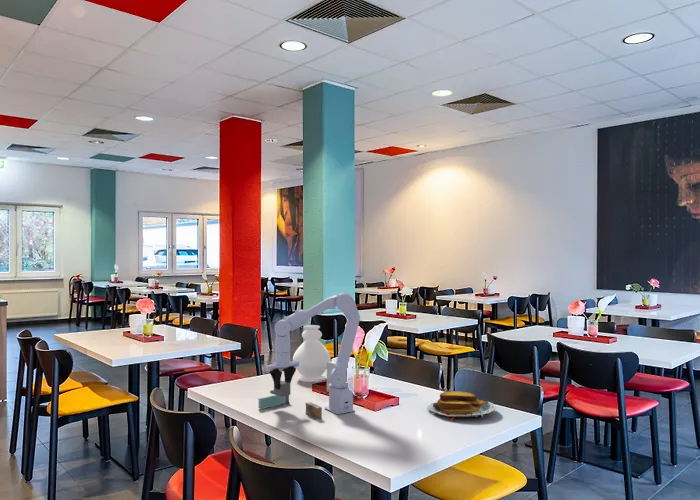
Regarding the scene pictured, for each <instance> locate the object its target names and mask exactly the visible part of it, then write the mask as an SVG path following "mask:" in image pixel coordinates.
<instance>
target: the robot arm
mask: <svg viewBox="0 0 700 500" xmlns="http://www.w3.org/2000/svg"><path fill="white" fill-rule="evenodd" d="M336 307H337V309H338V310H340V311H341V312H342V313H343V314H344V316H345V318H346V324H345V328H344V332H343V334H342V335H343V336H342V339H341V342H340V346H339V351H338V354H337V358H336V360H335V361H336V364H335V366H334V368H333V369H332V370H331V373H330V382H331V383H330V384H329V393H328V406H325V407H324V409H325V410H327V411H329V412H332V413H334V414H336V415H341V414H348V413H352V412H355V411H356V410H355V408H354V394H353V391H352V390H351V389H350V390H349V388H348V383H346V382H347V368H348V362H350V358H351V354H352V351H353V346H354V343H355V340H356V334H357V332H358V328H359V323H360V320H361V315H360V313H359V309H358V307H357V305H356V302H355V299H354V298H353V297H352V296H351V294H350V293H348V292H346V291H344V292H339V293H338V294H334V295H332V296H329V297H327V298H325V299H324V300H322V301H321V302H319V303H317V304H315V305H313V306H311V307H310V308H308V309H305V310H304V309H302V308H301V309H296V310H294V313H292V314H290V315H288V316H286V315H285V316H284V317H283V319H280V320H278V321H277V322H276V323H275V325H274V332H275V339H274V362H273V363H272V364H271V363H270V364H269V365H265V366H264V367H265V368H264V371H265V372H269V374H270V376H271V379H272V381H273V386H274V385H275V389H278V390H279V389H280V381H282V380H281V379H282V374H283V376H284V381H286V382H290V385H291V382H292V380H293V376H294V375H295V373H296V371H297V369H296V368H295V366H296V367H298V366H299V361H293V360H292V361H291V338H290V337H291V334H290V332H291V331H296V330H297V329H299V328H301V327H304V326H306V325H307V324H308V323H309V321H310V318H312V317H314V316H316V315H319V314H320V313H323V312H324V311H327V310H336ZM280 370H283V371H280Z"/></svg>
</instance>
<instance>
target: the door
mask: <svg viewBox="0 0 700 500" xmlns="http://www.w3.org/2000/svg"><path fill="white" fill-rule="evenodd" d="M289 403H290V395H287V396H278V395H275V394H271V395H267V396H262V397H258V409H259V410H262V409H266V408H269V407H274V406H278V405H279V406H280V405H284V404H289Z"/></svg>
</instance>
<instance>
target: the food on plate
mask: <svg viewBox="0 0 700 500" xmlns="http://www.w3.org/2000/svg"><path fill="white" fill-rule="evenodd" d="M496 408H497V406H496V405H495V404H494V403H493V402H490V401H487V400H483V399H477V397H476V395H475V393H474V394H473V393H471V392H468V391H467V392H466V391H460V390H458V391H457V390H450V391H443V392H441V393H440V394H439V399H438V400H437V401H435V402H432V403H431V404H429V405H428V406H427V410H428V411H430V412H433V413H436V414H438V415H440V416H445V417H449V418H450V417H451V421H455V418H468V417H476V418H478V417H479V416H481V418H484V417H483V416H485V415H489V414H493V413H494V412H495V410H496Z"/></svg>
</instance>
